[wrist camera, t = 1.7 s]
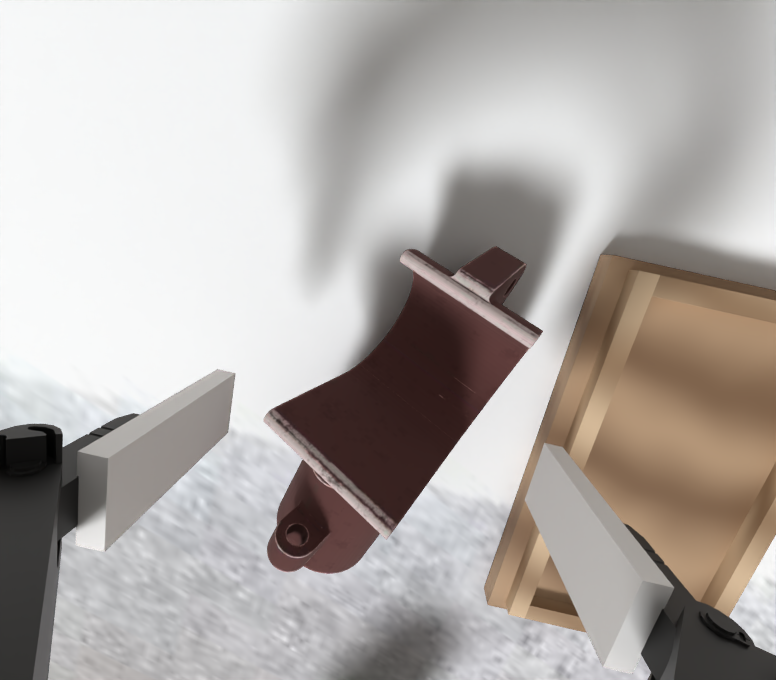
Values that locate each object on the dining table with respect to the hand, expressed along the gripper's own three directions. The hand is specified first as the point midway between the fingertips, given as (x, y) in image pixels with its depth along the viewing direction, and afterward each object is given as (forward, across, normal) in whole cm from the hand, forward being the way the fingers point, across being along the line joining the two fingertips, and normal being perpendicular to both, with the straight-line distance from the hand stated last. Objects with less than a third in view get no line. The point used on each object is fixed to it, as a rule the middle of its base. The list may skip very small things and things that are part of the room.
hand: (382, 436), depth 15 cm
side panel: (+6, +16, -2) cm, 17 cm away
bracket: (+7, 0, 0) cm, 7 cm away
